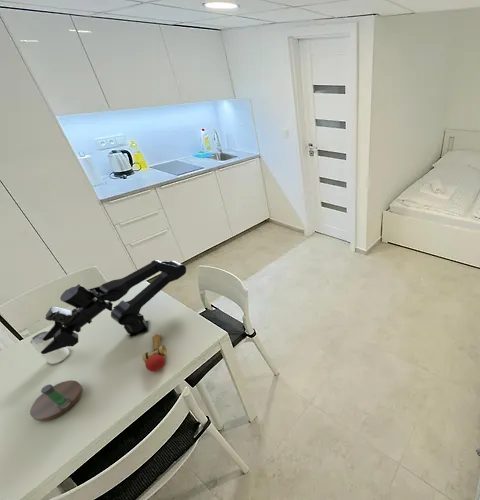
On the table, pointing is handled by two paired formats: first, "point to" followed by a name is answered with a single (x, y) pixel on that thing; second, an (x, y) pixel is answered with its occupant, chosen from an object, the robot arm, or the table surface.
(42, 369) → the table surface
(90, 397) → the table surface
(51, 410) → the disc
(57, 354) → the can
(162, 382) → the table surface
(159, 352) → the kendama
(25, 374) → the table surface
